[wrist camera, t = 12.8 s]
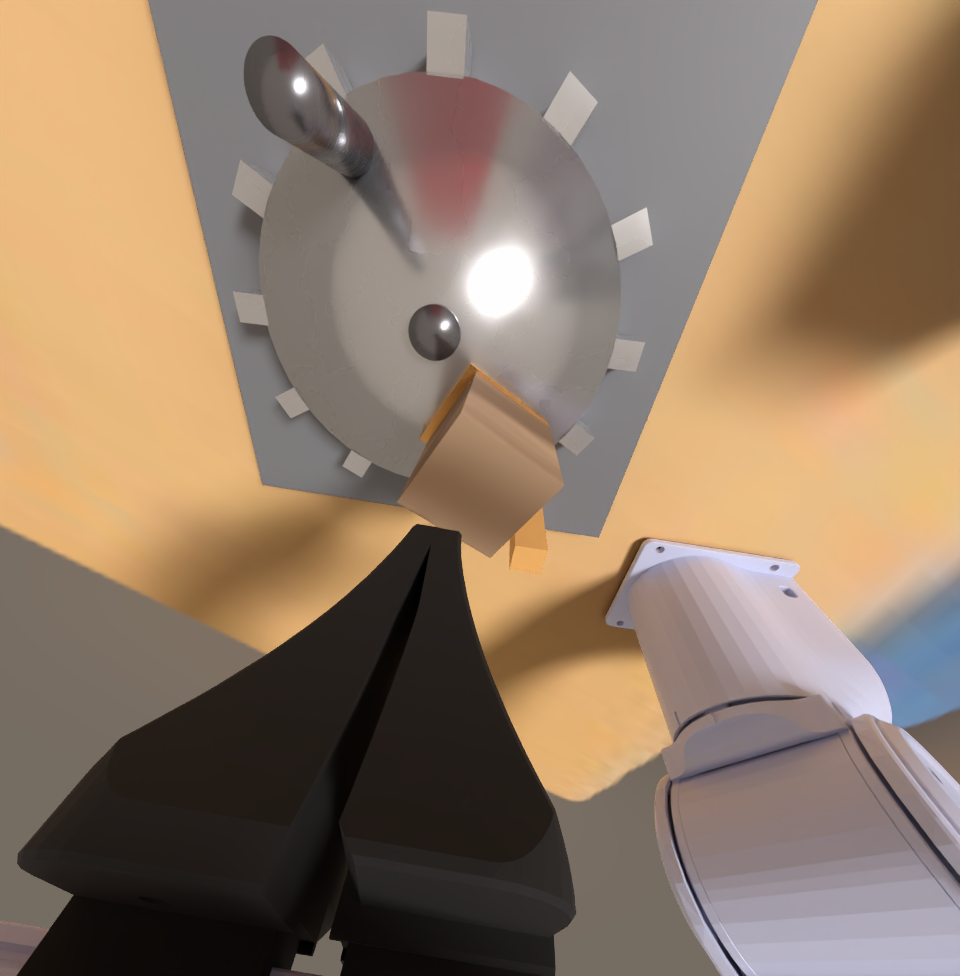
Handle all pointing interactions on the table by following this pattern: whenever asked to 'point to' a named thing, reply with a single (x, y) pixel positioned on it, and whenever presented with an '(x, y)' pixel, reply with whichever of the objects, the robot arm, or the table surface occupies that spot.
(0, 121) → the table surface
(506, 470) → the link block
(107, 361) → the table surface
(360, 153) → the sprocket
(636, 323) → the base plate
